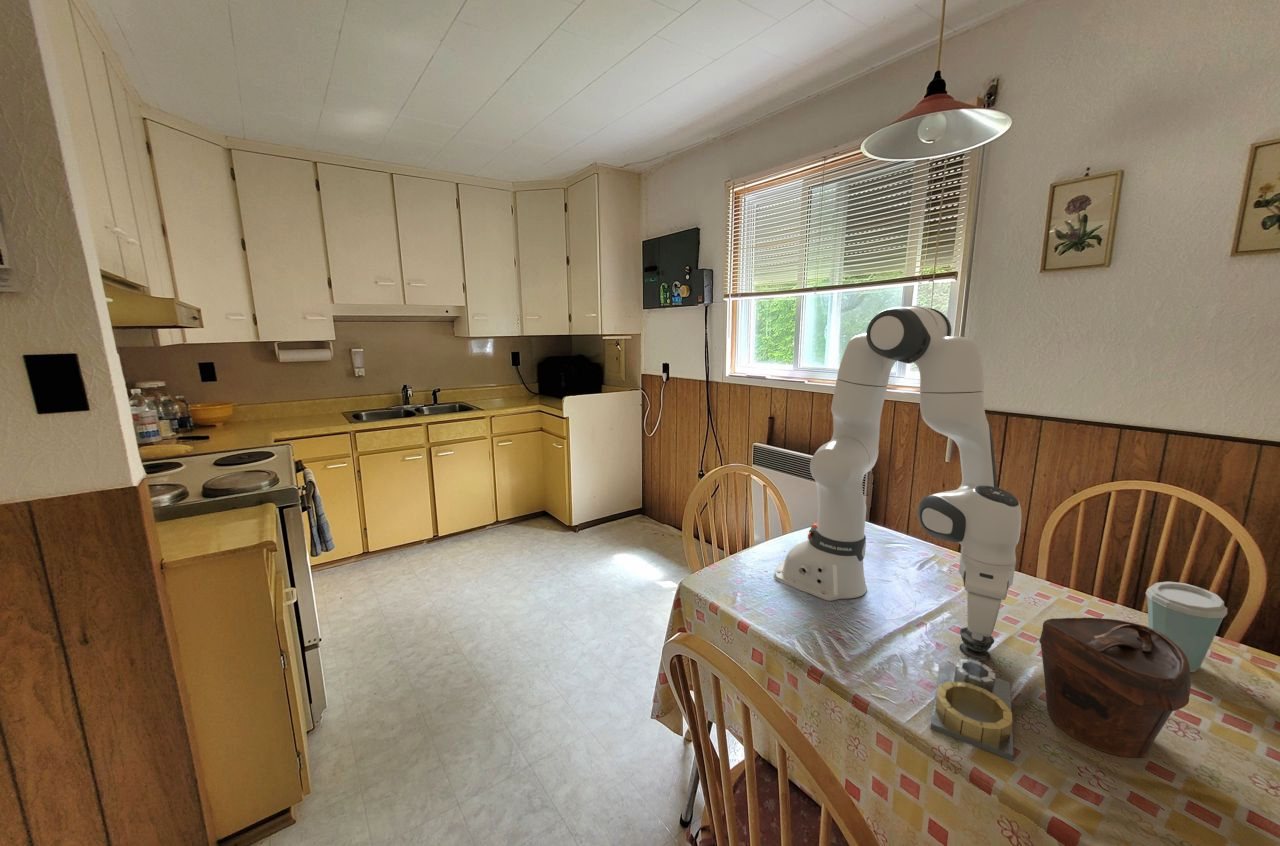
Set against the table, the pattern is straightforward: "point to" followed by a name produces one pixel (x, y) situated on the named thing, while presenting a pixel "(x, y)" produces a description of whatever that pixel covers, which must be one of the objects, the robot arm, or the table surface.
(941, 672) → the socket plate
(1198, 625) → the disposable coffee cup
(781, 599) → the table surface
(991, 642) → the stone chess piece
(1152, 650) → the case
